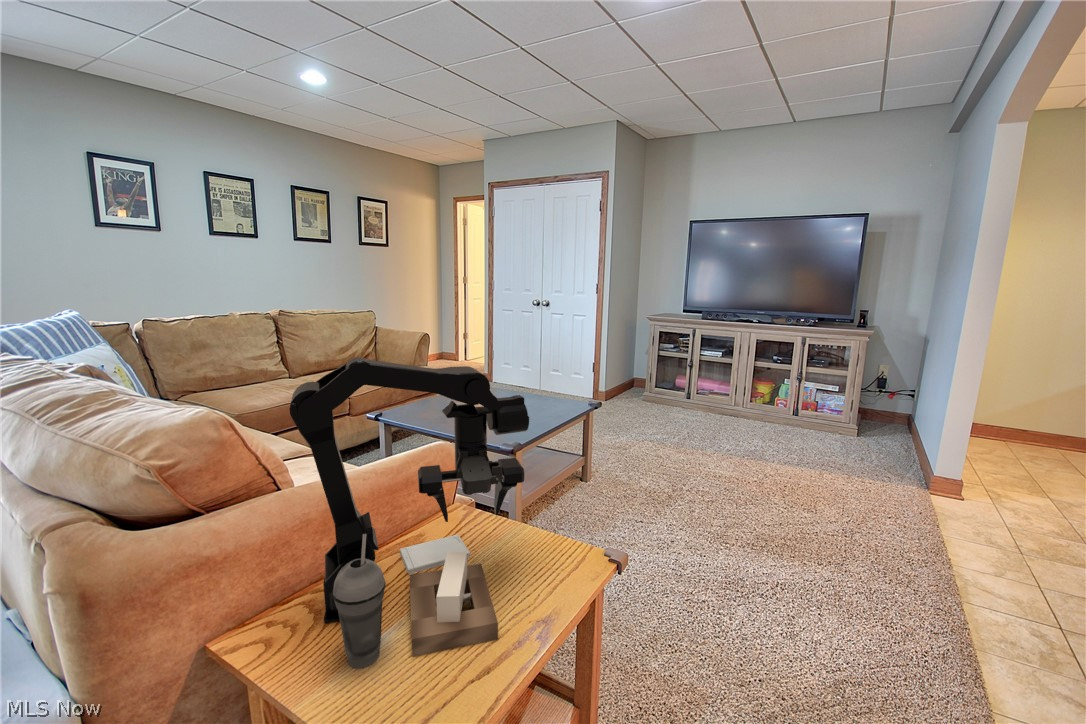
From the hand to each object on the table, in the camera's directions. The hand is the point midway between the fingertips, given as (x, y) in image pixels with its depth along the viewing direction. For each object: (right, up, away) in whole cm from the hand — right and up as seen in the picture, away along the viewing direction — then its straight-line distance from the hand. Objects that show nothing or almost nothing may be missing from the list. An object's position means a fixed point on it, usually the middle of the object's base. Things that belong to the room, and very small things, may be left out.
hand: (471, 517), depth 89 cm
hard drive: (-9, -11, +9) cm, 17 cm away
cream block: (-2, -11, -8) cm, 14 cm away
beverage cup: (-14, -15, -17) cm, 27 cm away
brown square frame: (-2, -14, -8) cm, 16 cm away
